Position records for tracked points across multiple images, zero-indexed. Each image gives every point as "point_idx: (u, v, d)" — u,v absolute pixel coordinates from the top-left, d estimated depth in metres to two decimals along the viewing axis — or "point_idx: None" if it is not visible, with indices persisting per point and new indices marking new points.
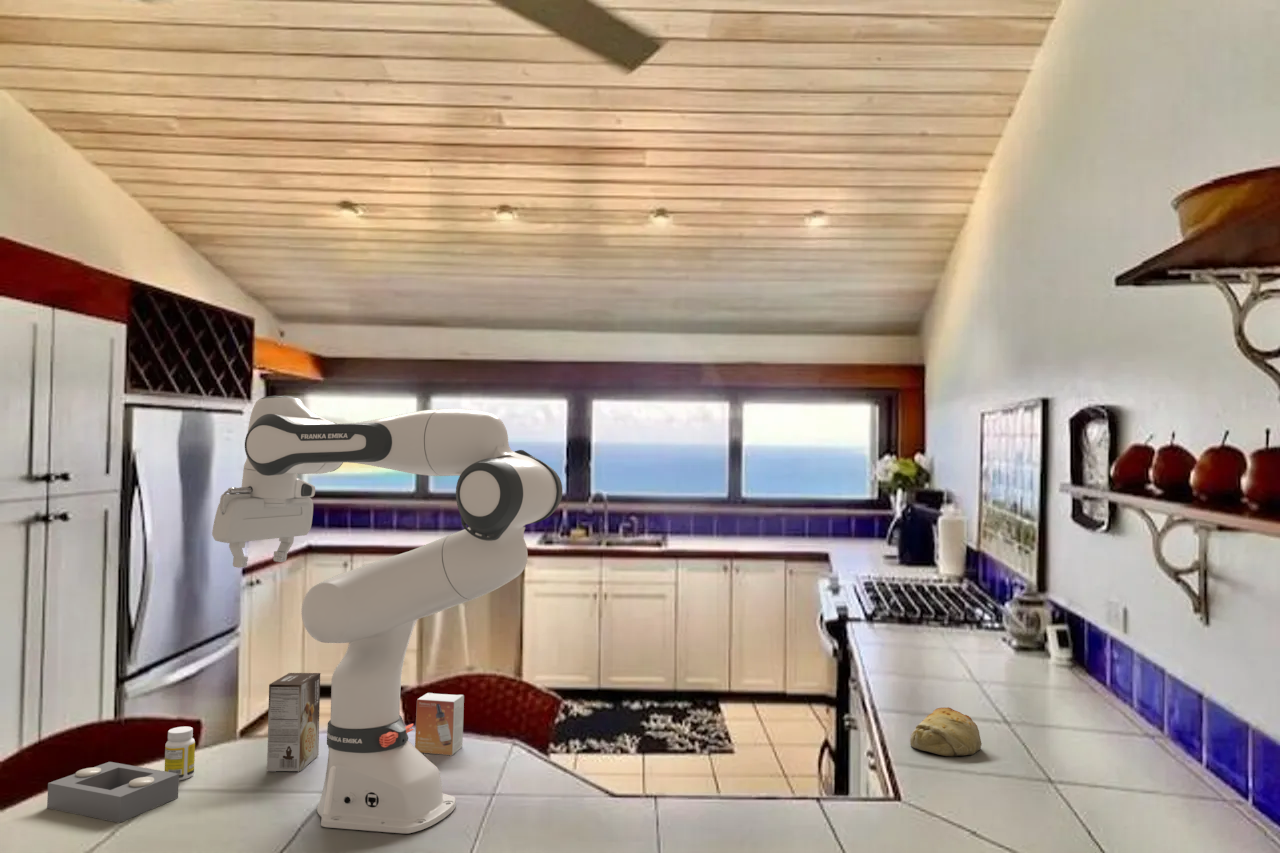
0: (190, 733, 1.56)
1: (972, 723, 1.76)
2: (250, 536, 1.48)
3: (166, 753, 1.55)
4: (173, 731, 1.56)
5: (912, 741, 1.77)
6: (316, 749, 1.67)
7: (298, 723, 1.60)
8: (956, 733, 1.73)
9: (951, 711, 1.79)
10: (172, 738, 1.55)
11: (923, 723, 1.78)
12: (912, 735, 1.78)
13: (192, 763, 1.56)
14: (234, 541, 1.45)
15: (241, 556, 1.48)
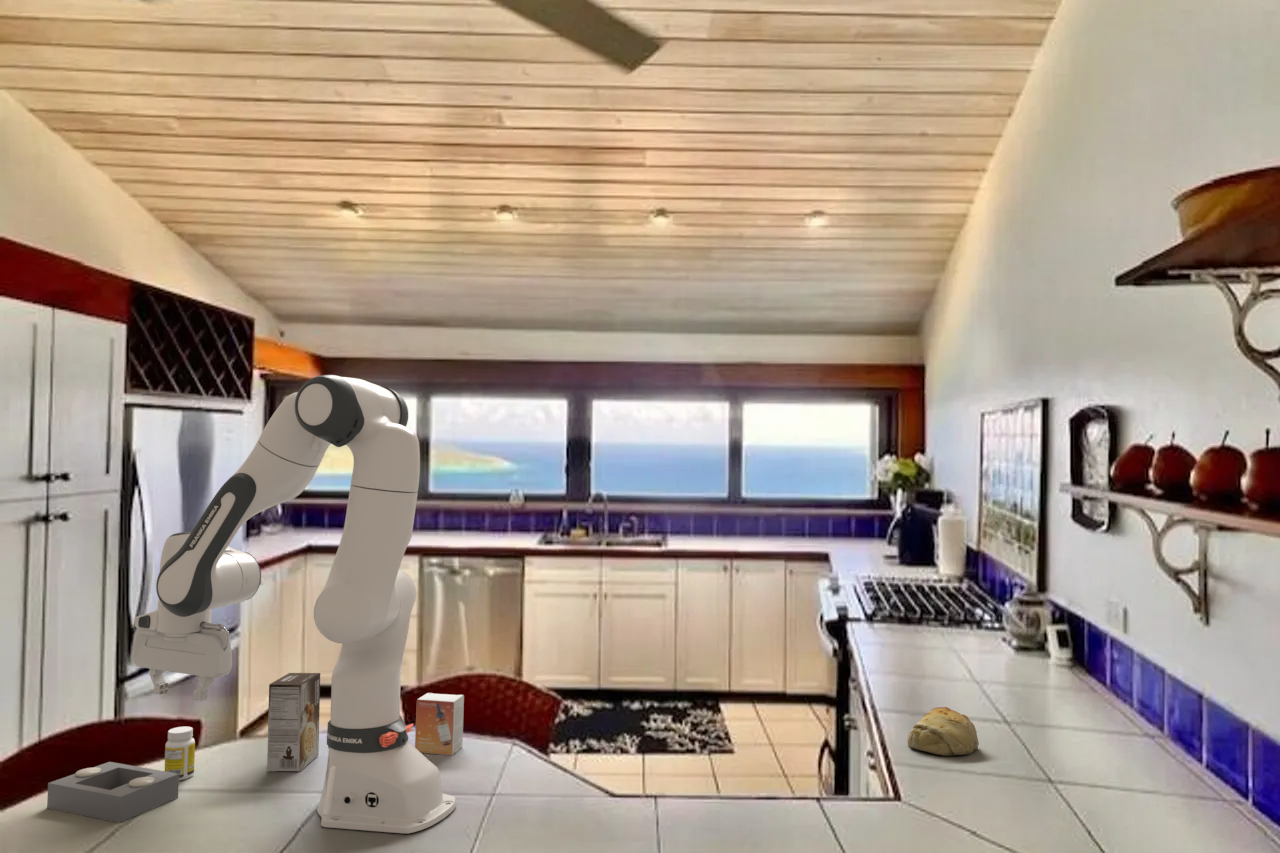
0: (190, 733, 1.56)
1: (969, 723, 1.76)
2: None
3: (166, 753, 1.55)
4: (173, 731, 1.56)
5: (910, 741, 1.77)
6: (316, 749, 1.67)
7: (298, 723, 1.60)
8: (953, 733, 1.73)
9: (948, 711, 1.79)
10: (172, 738, 1.55)
11: (920, 723, 1.78)
12: (909, 735, 1.78)
13: (192, 763, 1.56)
14: None
15: (208, 687, 1.56)
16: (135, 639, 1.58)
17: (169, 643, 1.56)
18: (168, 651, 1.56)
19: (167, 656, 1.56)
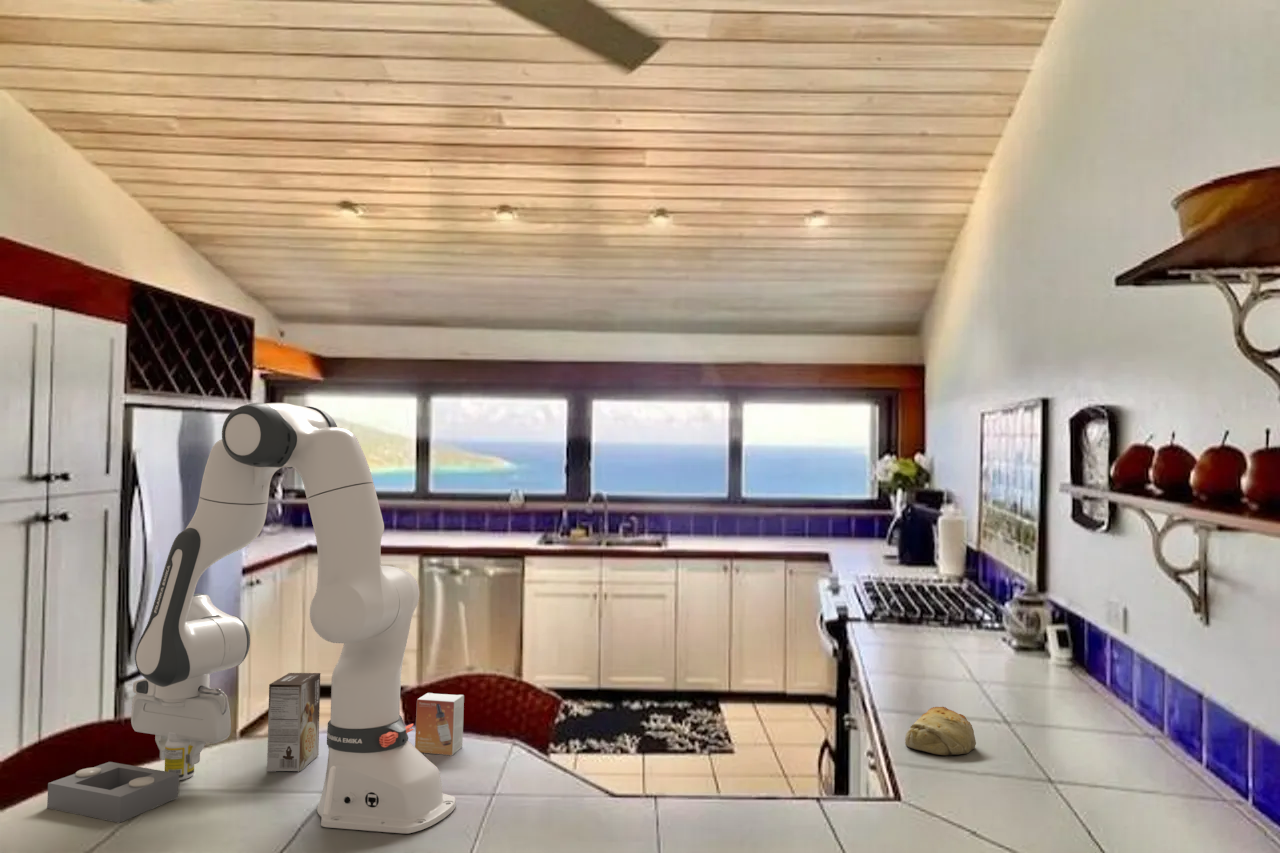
0: None
1: (967, 722, 1.77)
2: None
3: (166, 753, 1.55)
4: None
5: (907, 740, 1.77)
6: (316, 749, 1.67)
7: (298, 723, 1.60)
8: (951, 732, 1.74)
9: (946, 710, 1.79)
10: (172, 738, 1.55)
11: (918, 722, 1.78)
12: (907, 734, 1.78)
13: None
14: None
15: (200, 751, 1.56)
16: (133, 704, 1.58)
17: (168, 708, 1.56)
18: (167, 716, 1.55)
19: (166, 721, 1.56)
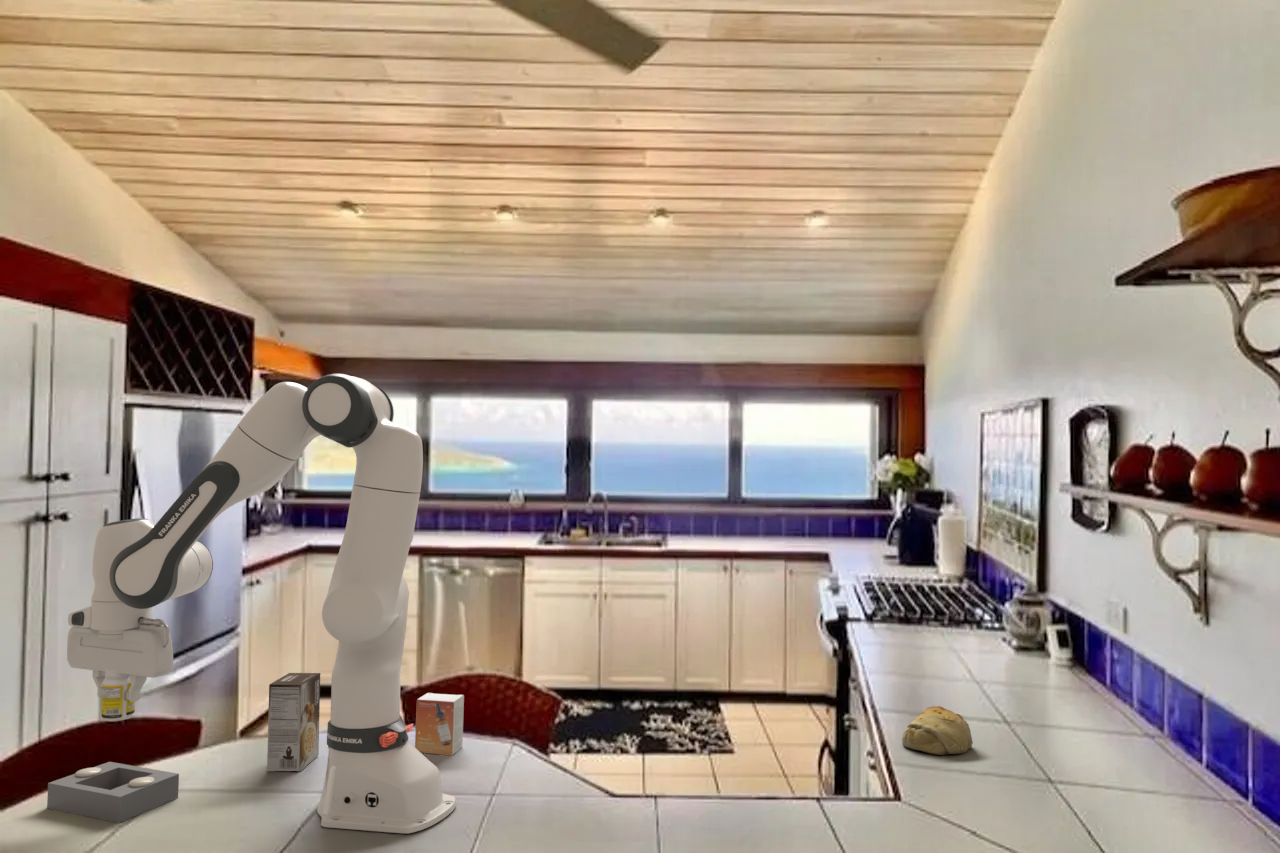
0: None
1: (963, 722, 1.77)
2: None
3: (103, 691, 1.43)
4: None
5: (904, 740, 1.77)
6: (316, 749, 1.67)
7: (298, 724, 1.60)
8: (948, 732, 1.74)
9: (943, 710, 1.79)
10: (109, 676, 1.43)
11: (915, 722, 1.78)
12: (904, 734, 1.78)
13: (132, 703, 1.45)
14: None
15: (141, 687, 1.44)
16: (69, 638, 1.46)
17: (105, 641, 1.44)
18: (104, 650, 1.44)
19: (103, 655, 1.44)
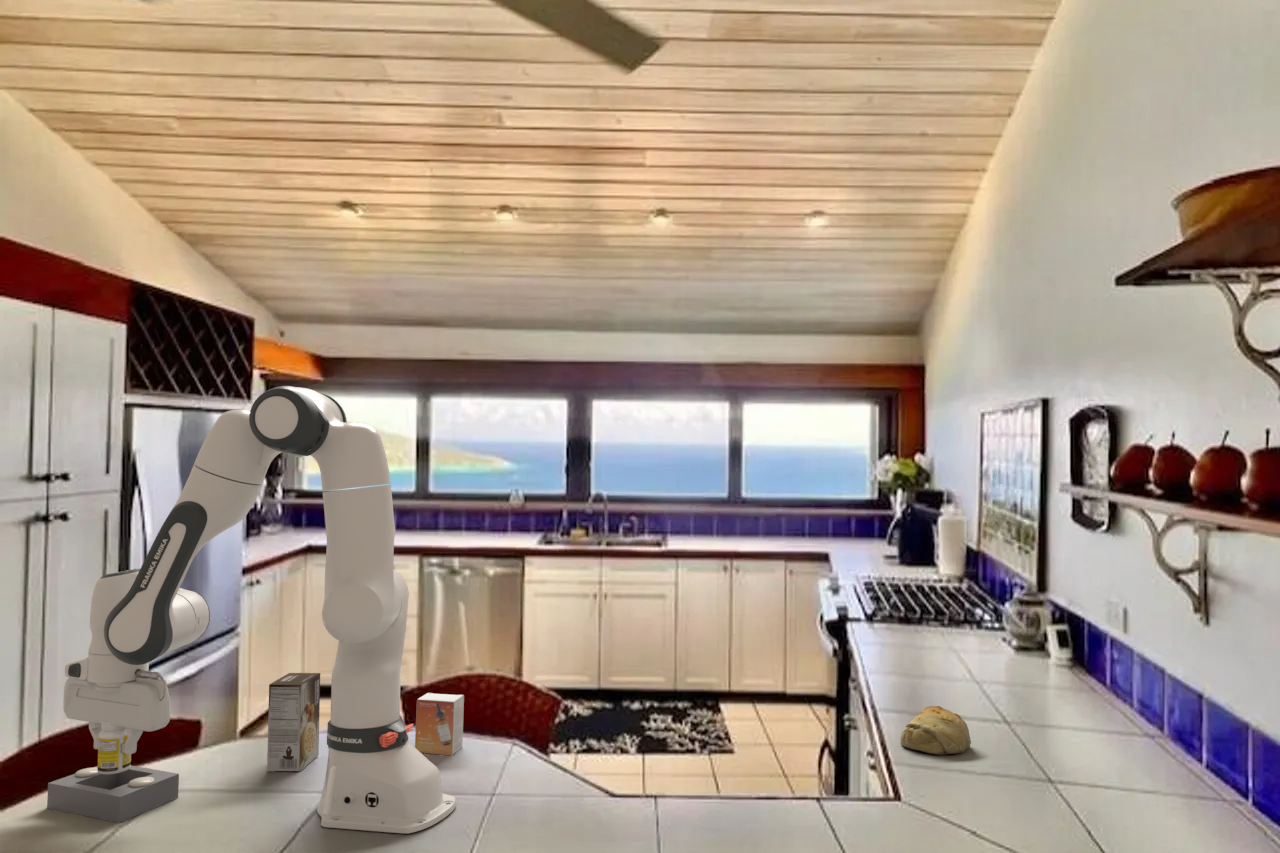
0: None
1: (962, 721, 1.77)
2: None
3: (99, 744, 1.43)
4: None
5: (903, 740, 1.77)
6: (316, 749, 1.67)
7: (298, 723, 1.60)
8: (946, 732, 1.74)
9: (941, 710, 1.80)
10: (105, 728, 1.43)
11: (913, 722, 1.78)
12: (902, 734, 1.78)
13: (128, 755, 1.44)
14: None
15: (137, 740, 1.44)
16: (65, 689, 1.46)
17: (102, 693, 1.44)
18: (101, 702, 1.44)
19: (100, 707, 1.44)
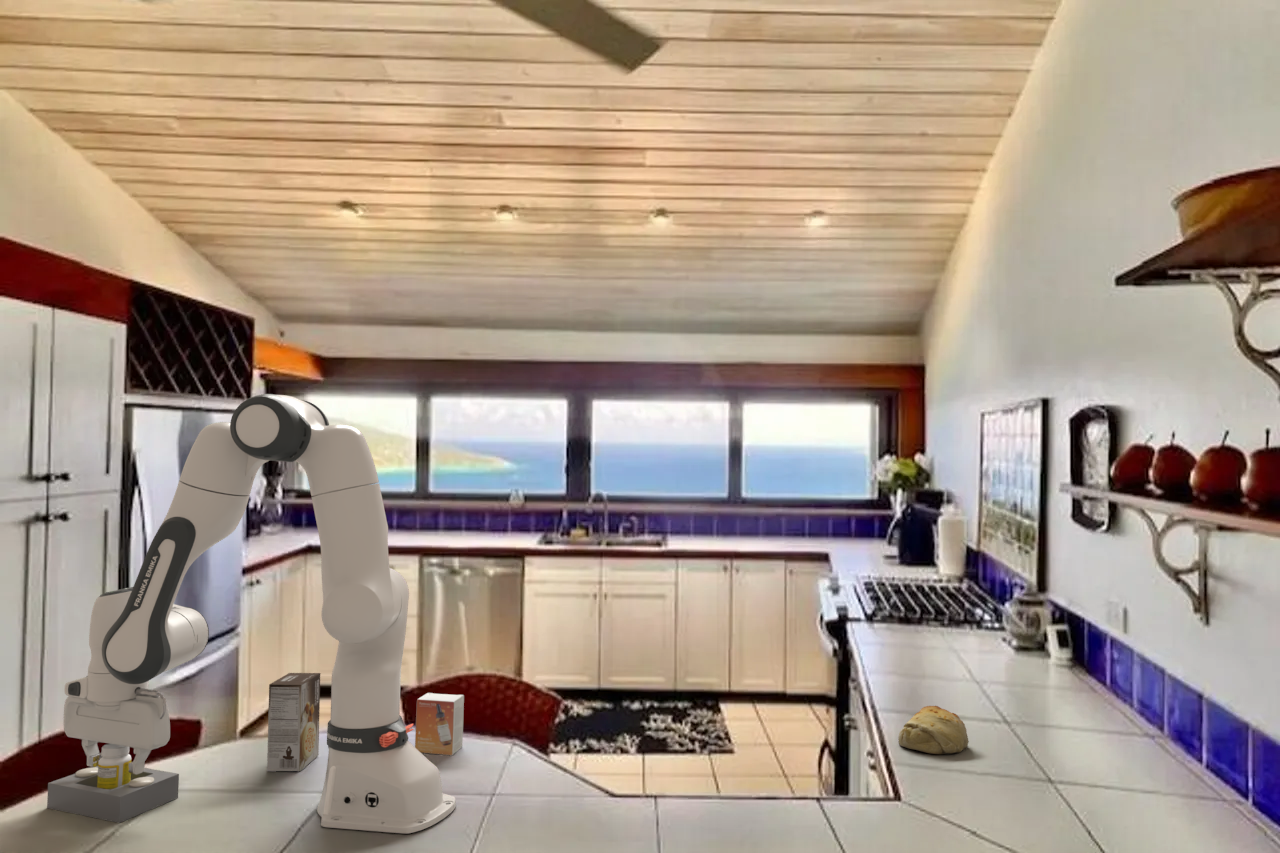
0: (126, 749, 1.44)
1: (959, 721, 1.77)
2: None
3: (99, 771, 1.43)
4: (108, 747, 1.44)
5: (901, 740, 1.77)
6: (316, 749, 1.67)
7: (298, 723, 1.60)
8: (944, 731, 1.74)
9: (939, 709, 1.80)
10: (105, 755, 1.43)
11: (911, 721, 1.79)
12: (900, 734, 1.79)
13: (127, 782, 1.44)
14: None
15: (145, 759, 1.43)
16: (65, 708, 1.45)
17: (102, 712, 1.44)
18: (101, 720, 1.43)
19: (100, 725, 1.43)
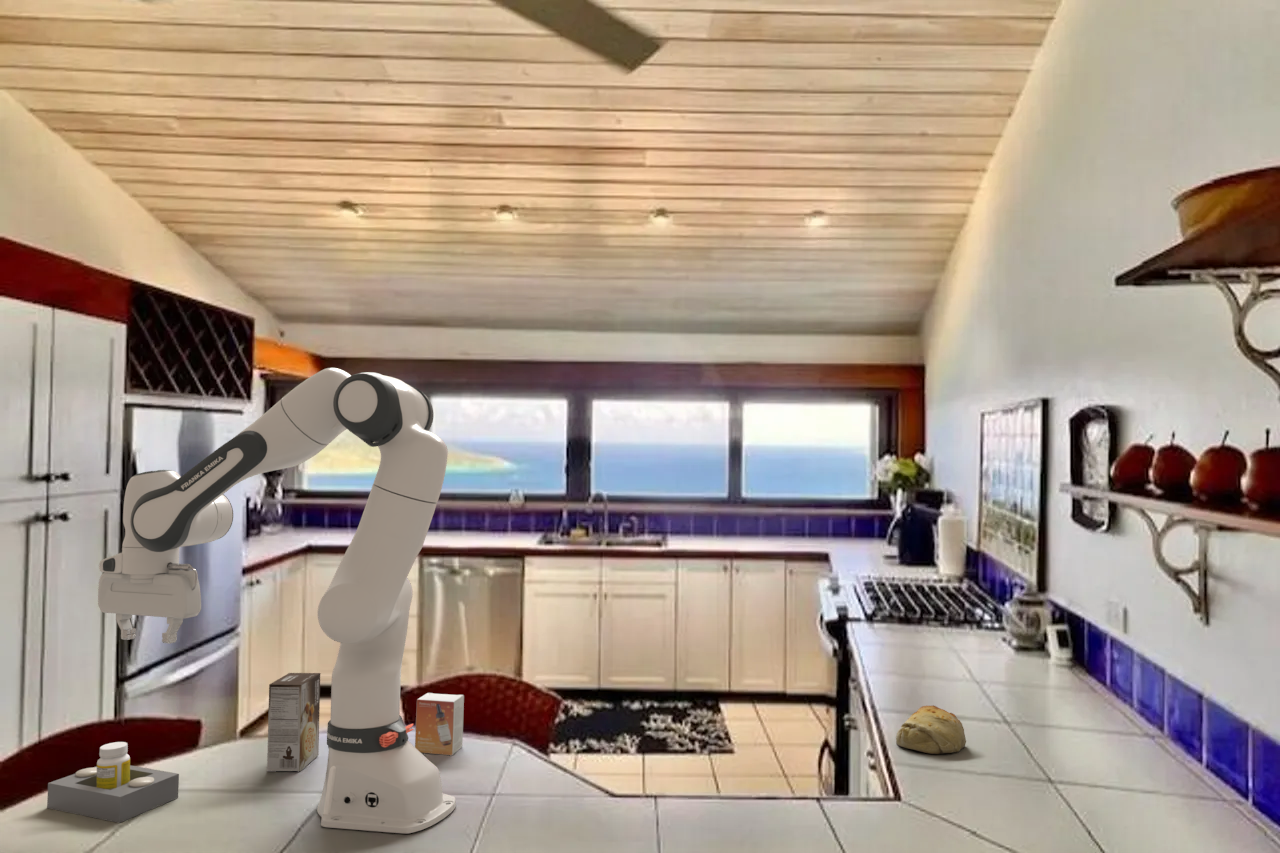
0: (124, 749, 1.44)
1: (957, 721, 1.78)
2: None
3: (97, 771, 1.43)
4: (105, 747, 1.44)
5: (898, 739, 1.78)
6: (316, 749, 1.67)
7: (298, 723, 1.60)
8: (942, 731, 1.74)
9: (936, 709, 1.80)
10: (103, 755, 1.43)
11: (909, 721, 1.79)
12: (898, 733, 1.79)
13: (127, 782, 1.44)
14: None
15: (177, 630, 1.52)
16: (100, 584, 1.54)
17: (135, 586, 1.52)
18: (135, 594, 1.52)
19: (134, 599, 1.52)
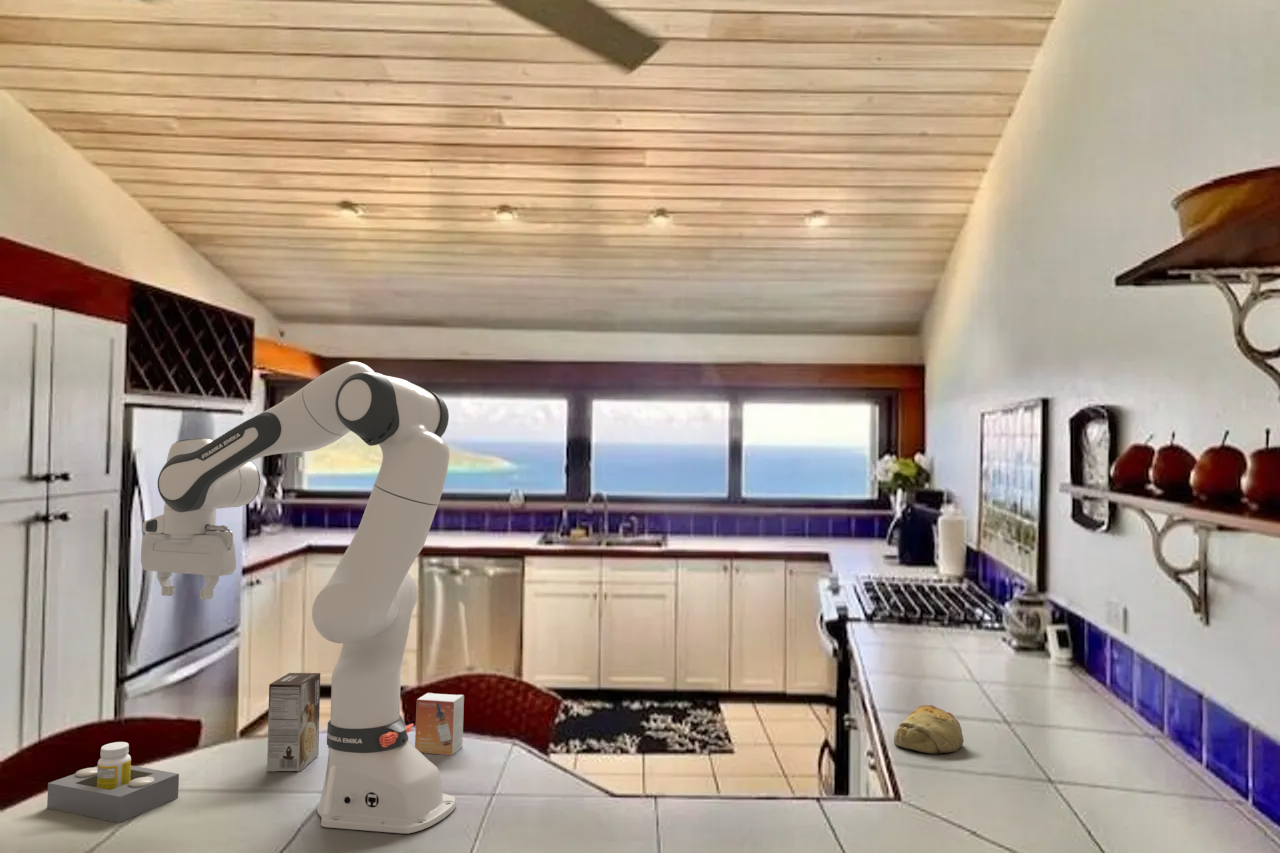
0: (125, 750, 1.44)
1: (955, 720, 1.78)
2: None
3: (98, 771, 1.42)
4: (107, 747, 1.43)
5: (896, 739, 1.78)
6: (316, 749, 1.67)
7: (298, 723, 1.60)
8: (939, 731, 1.75)
9: (934, 709, 1.80)
10: (104, 756, 1.42)
11: (907, 721, 1.79)
12: (896, 733, 1.79)
13: (127, 782, 1.44)
14: None
15: (213, 587, 1.63)
16: (142, 544, 1.65)
17: (176, 546, 1.64)
18: (175, 553, 1.63)
19: (174, 558, 1.63)
